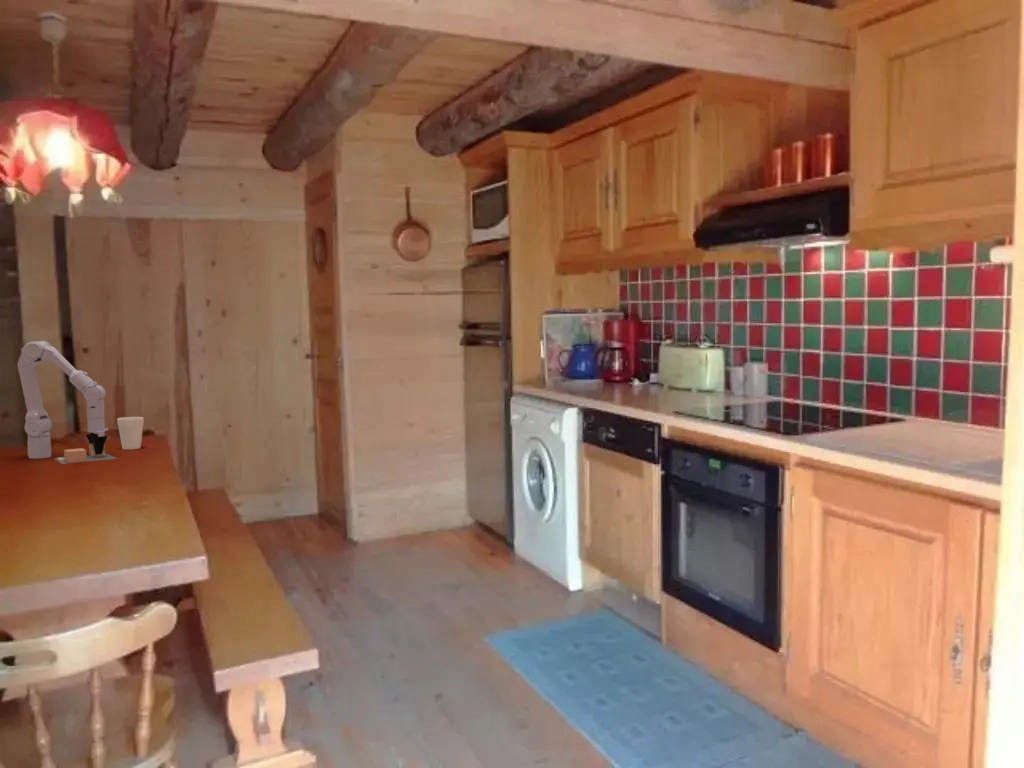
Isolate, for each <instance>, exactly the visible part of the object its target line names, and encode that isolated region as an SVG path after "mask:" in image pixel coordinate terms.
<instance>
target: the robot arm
mask: <svg viewBox="0 0 1024 768" xmlns="http://www.w3.org/2000/svg"><path fill="white" fill-rule="evenodd" d="M17 361H18V362H17V370H18V374H19V379H20V383H21V388H22V393H23V397H24V402H25V407H26V410H27V411H26V415H25V417H24V419H25V423H24V427H23V428H24V431H25V433H26V434H27V457H28V459H33V460H34V459H45V458H51V457H52V445H51V443H52V442H51V433H50V431H51V430H52V429H53V421H52V420H51V419H50V417H49V415H48V412H47V411H46V409H44V404H43V399H42V395H41V390H40V384H39V380H38V376H37V370H36V367H37V366H38V365H39V363H41V361H46V362H47V361H48V362H52V364H53V365H55V366H56V367H57V368H59V369H60V370H61V371H63V373H64V374H66V375H67V376H68V378H69V382H70V383H71V384H72V385H73V386H74V387H75V388H76V389H78V391H80V393H82V394H83V397H84V399H85V400H86V419H87V430H86V431H87V434H85V436H86V438H87V441H88V443H89V444H93V445H94V450H95V454H96V455H98V454H102V453H103V448H104V444H105V443H106V441H107V439H108V435H105V432H106V431H109V428H108V427H107V428H106V424H105V423H106V422H105V420H106V419H105V402H104V398H105V396H106V393H107V392H106V389H105V387H103V385H101V384H98V382H97V381H94V380H93V379H92V378H91V377H90V376H88V374H89V373H88V372H86V371H83V370H81V369H80V370H78V369H76V368H75V367H74V366H73V365H72V364H71V363H70V362H69V361H68V360H67V359H66V358H65V357H64V356H63V355H62V354H61V352H60V351H58V350H57V348H56V347H54V346H52V344H51V343H50V342H48V341H47V340H39V341H29V342H27V343H26V344H25V345H24V346H23V347H22V348H21V354H20V356H19V359H18V360H17ZM89 433H90V434H89ZM105 445H106V444H105Z"/></svg>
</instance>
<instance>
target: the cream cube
mask: <svg viewBox="0 0 1024 768" xmlns="http://www.w3.org/2000/svg"><path fill="white" fill-rule="evenodd" d="M88 451H89V453H88V455H90V456H91V457H97V456H105V454H106V444H104V448H103V453H102V454H98V455H96V454H95V450H94V445H93V444H90V443H89V444H88Z"/></svg>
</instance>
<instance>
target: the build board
mask: <svg viewBox="0 0 1024 768" xmlns="http://www.w3.org/2000/svg"><path fill="white" fill-rule="evenodd" d="M57 458H58V457H55V458H54V459H53V460H55V461H57V462H58V463H60V464H62V465H66V464H69V463H67V462H66V461H64V460H59V459H57ZM114 459H115V460H116V459H117V457H115V456H113V455H111V454H110V453H107V452H105V456H97V457H91V456H90V455H89V454H87V461H84V462H95V461H97V462H98V461H105V460H114ZM84 462H83V463H84ZM76 463H78V462H74V463H73V464H76Z"/></svg>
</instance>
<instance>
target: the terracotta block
mask: <svg viewBox="0 0 1024 768" xmlns="http://www.w3.org/2000/svg"><path fill="white" fill-rule="evenodd" d="M87 455H88V454H87V449H84V448H83V447H81V448H69V449H64V450H63V457H64V461H66V462H67V463H68V464H75V463H74V462H77V463H84V461H87ZM87 462H88V461H87Z"/></svg>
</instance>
